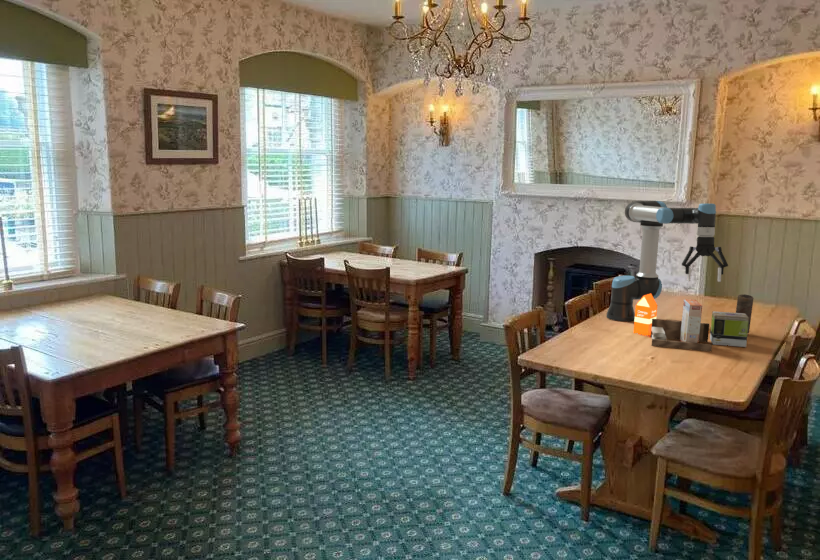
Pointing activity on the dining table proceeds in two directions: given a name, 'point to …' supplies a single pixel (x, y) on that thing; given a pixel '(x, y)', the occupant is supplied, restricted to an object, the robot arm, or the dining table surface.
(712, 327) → the tea box
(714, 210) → the robot arm
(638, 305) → the orange juice
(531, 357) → the dining table surface
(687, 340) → the cracker box
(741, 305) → the candle
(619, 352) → the dining table surface
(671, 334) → the walnut rack
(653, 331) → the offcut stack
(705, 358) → the dining table surface
